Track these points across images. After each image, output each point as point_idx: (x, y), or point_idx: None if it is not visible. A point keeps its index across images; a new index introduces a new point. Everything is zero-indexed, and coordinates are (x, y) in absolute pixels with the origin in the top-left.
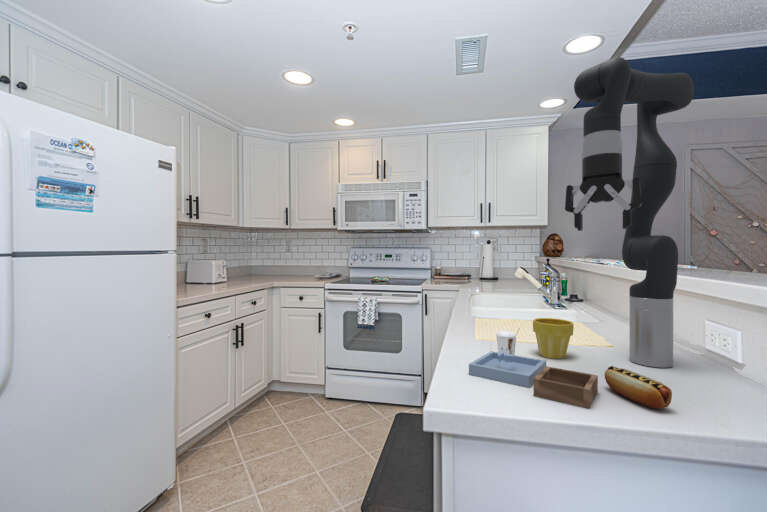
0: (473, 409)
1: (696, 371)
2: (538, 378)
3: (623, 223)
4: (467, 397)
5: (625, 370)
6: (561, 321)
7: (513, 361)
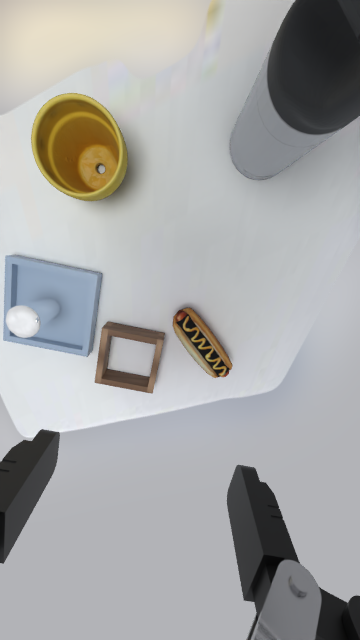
0: (56, 425)
1: (316, 172)
2: (99, 379)
3: (233, 520)
4: (40, 403)
5: (196, 325)
6: (95, 108)
7: (55, 311)
